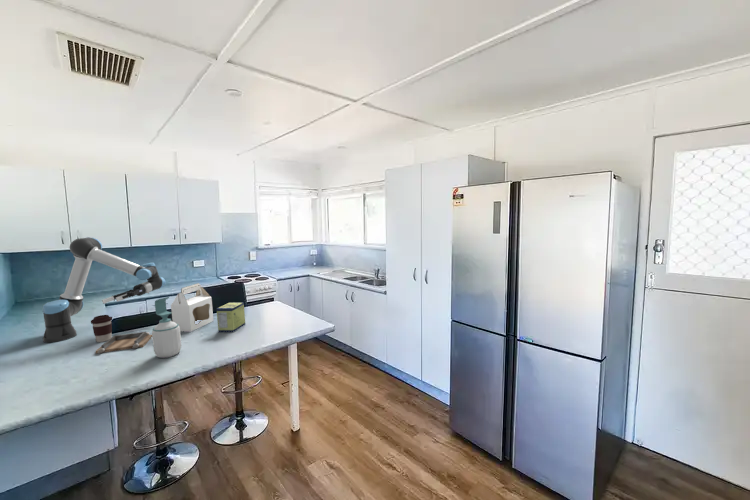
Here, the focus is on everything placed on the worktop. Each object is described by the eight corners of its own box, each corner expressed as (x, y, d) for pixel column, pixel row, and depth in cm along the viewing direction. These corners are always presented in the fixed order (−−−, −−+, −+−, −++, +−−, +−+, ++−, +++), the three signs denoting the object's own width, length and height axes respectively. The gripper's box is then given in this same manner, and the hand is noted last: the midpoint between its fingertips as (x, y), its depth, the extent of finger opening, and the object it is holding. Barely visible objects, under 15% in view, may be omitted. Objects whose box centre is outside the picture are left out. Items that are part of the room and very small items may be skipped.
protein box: (245, 324, 217) (244, 302, 216) (233, 332, 202) (231, 308, 200) (231, 324, 219) (229, 302, 217) (217, 332, 203) (215, 308, 202)
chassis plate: (94, 355, 174) (93, 347, 174) (110, 341, 194) (110, 335, 193) (141, 348, 181) (141, 341, 181) (153, 335, 201) (152, 329, 201)
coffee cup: (91, 344, 190) (87, 320, 188) (96, 339, 199) (93, 315, 197) (112, 341, 194) (109, 317, 193) (116, 336, 203) (113, 313, 202)
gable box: (190, 332, 206) (186, 289, 203) (172, 331, 208) (168, 289, 205) (213, 320, 228) (210, 282, 225) (197, 320, 230) (193, 282, 227)
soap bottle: (161, 361, 163) (155, 301, 160) (150, 356, 170) (143, 298, 166) (186, 352, 174) (181, 296, 170) (174, 348, 180) (169, 293, 177)
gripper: (156, 292, 218) (124, 304, 198) (132, 295, 226) (99, 308, 207) (152, 281, 216) (120, 293, 197) (128, 285, 225) (95, 297, 205)
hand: (109, 300), depth 202 cm, fingers open, 13 cm apart
